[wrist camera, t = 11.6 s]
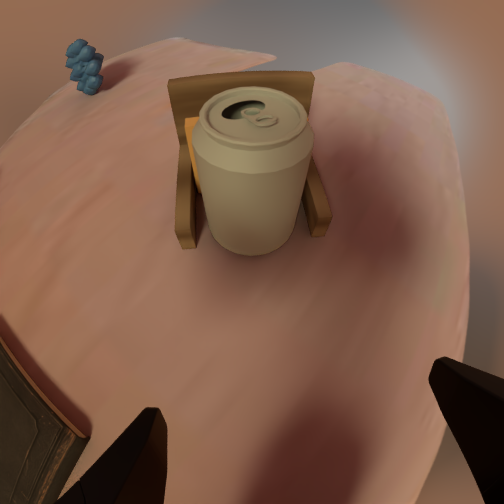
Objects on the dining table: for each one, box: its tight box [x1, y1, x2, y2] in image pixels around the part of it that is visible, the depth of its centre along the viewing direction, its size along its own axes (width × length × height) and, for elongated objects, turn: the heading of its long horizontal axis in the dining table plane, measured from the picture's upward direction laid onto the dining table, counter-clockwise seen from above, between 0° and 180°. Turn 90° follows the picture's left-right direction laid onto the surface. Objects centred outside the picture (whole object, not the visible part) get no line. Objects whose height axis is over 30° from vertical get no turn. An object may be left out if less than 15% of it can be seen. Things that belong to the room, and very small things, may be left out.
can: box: [192, 86, 314, 256], centre depth 20 cm, size 8×8×12 cm
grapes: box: [66, 39, 104, 95], centre depth 33 cm, size 12×7×12 cm, turn 53°
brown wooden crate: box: [167, 71, 332, 249], centre depth 22 cm, size 11×12×10 cm
